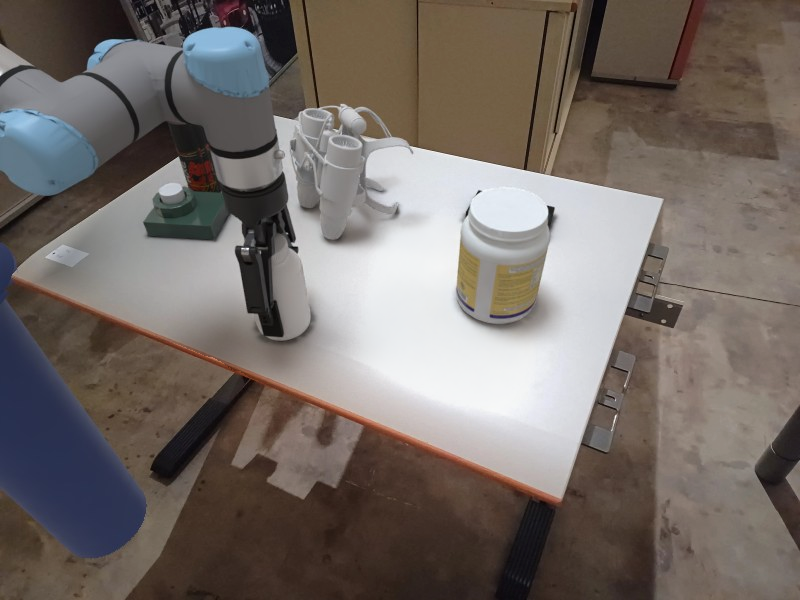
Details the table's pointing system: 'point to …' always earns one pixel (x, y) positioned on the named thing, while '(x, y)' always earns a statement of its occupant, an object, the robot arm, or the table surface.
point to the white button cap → (172, 193)
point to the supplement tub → (502, 254)
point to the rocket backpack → (336, 164)
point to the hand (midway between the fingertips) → (282, 311)
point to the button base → (188, 216)
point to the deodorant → (195, 156)
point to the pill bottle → (288, 290)
